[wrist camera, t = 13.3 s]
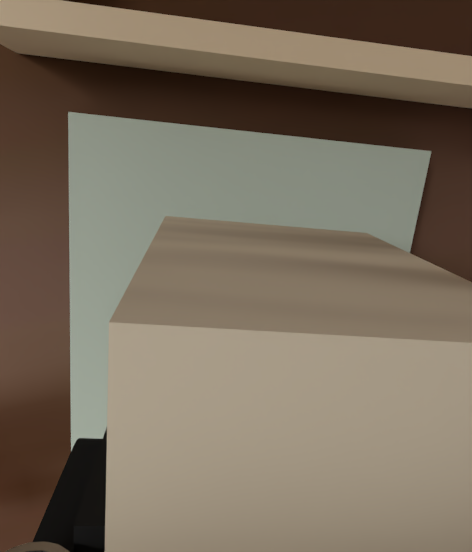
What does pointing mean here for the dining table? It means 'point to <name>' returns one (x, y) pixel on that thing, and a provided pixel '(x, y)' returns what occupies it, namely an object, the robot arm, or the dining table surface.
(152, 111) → the dining table surface
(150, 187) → the mat
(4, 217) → the dining table surface
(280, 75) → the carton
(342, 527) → the block
